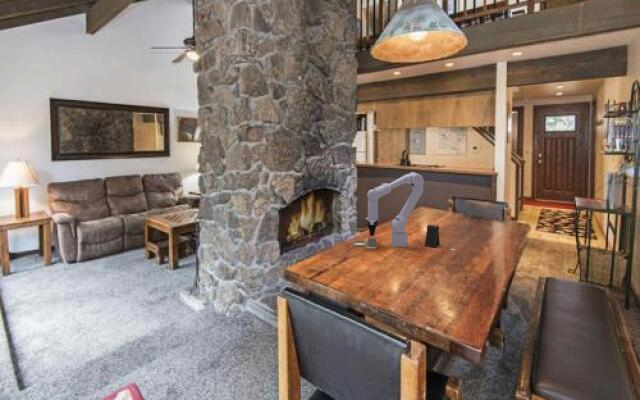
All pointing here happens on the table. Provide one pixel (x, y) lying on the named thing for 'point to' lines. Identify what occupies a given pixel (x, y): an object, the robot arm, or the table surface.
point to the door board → (362, 244)
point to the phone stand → (432, 236)
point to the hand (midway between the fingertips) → (372, 233)
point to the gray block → (372, 242)
